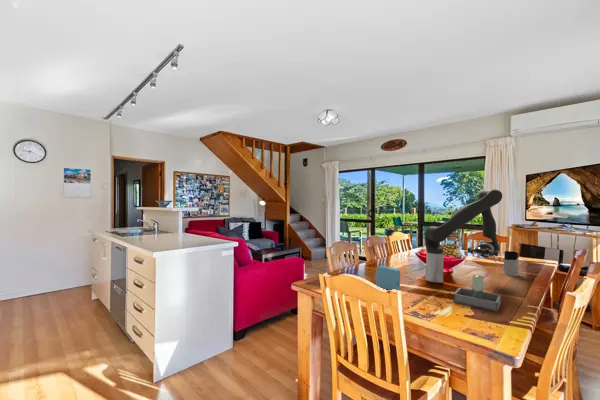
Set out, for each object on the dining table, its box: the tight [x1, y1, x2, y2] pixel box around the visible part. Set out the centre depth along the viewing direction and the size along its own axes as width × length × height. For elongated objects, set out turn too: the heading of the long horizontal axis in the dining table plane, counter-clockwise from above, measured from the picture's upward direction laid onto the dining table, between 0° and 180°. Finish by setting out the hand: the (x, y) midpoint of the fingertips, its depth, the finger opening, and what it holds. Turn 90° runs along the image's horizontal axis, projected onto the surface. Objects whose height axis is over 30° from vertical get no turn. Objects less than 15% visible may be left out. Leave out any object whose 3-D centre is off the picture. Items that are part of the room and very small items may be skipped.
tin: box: [471, 274, 484, 299], centre depth 136 cm, size 4×4×12 cm
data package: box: [375, 265, 401, 291], centre depth 156 cm, size 12×4×12 cm, turn 45°
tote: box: [453, 287, 502, 313], centre depth 136 cm, size 18×14×4 cm
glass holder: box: [493, 250, 520, 277], centre depth 191 cm, size 9×14×15 cm, turn 57°
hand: (480, 253), depth 152 cm, fingers open, 8 cm apart
